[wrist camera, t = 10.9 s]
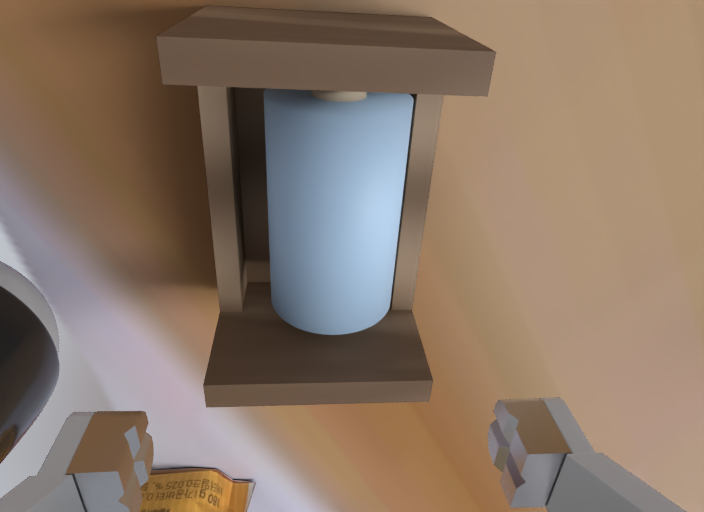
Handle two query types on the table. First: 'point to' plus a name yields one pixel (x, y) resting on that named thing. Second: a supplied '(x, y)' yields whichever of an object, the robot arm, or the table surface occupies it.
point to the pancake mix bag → (194, 491)
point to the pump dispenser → (24, 356)
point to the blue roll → (334, 204)
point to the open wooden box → (251, 187)
